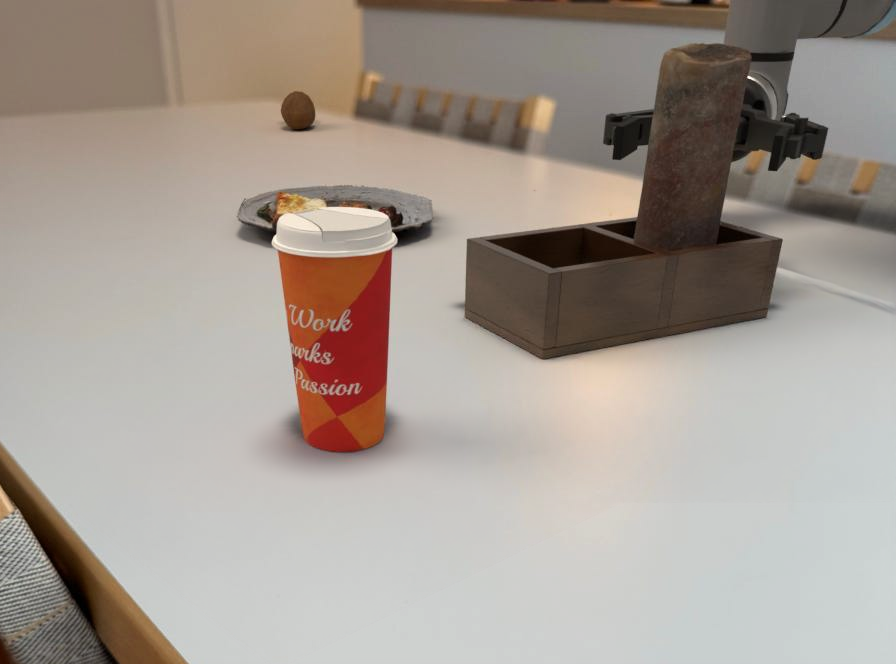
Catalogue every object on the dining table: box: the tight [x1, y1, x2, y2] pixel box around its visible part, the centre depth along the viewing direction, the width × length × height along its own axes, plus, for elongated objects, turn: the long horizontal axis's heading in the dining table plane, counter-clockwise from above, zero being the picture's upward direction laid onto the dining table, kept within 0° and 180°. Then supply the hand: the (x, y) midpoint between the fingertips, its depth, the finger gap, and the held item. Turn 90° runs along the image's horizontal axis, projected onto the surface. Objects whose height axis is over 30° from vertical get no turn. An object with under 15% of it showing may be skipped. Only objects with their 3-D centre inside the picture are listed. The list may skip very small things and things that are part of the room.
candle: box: [634, 42, 752, 251], centre depth 84 cm, size 8×7×20 cm
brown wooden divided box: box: [464, 216, 784, 360], centre depth 86 cm, size 25×13×7 cm, turn 118°
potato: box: [280, 90, 316, 130], centre depth 183 cm, size 7×10×6 cm
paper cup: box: [271, 207, 398, 453], centre depth 62 cm, size 8×8×14 cm
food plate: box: [236, 184, 434, 233], centre depth 116 cm, size 25×23×4 cm
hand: (694, 148), depth 83 cm, fingers open, 13 cm apart
